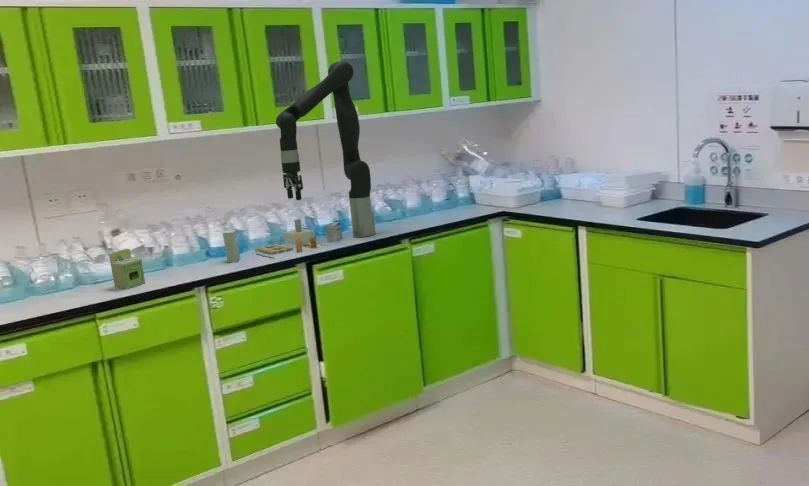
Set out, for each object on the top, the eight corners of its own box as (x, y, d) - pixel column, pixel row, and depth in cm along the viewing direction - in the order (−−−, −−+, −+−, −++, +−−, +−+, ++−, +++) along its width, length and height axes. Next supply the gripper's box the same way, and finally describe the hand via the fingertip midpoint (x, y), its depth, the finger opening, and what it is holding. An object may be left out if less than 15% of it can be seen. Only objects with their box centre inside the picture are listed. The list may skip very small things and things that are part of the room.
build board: (276, 249, 321) (276, 243, 320) (293, 253, 310) (293, 247, 309) (255, 254, 315) (254, 248, 314) (272, 258, 304) (271, 252, 303)
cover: (302, 241, 333) (299, 217, 331) (316, 244, 325) (313, 219, 323) (284, 245, 328) (281, 220, 326) (297, 248, 320) (294, 222, 317)
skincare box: (237, 261, 304) (233, 232, 301) (226, 262, 304) (222, 233, 301) (240, 258, 310) (236, 229, 307) (229, 259, 310) (225, 230, 307)
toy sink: (126, 289, 273) (120, 254, 270) (114, 288, 277) (108, 253, 275) (146, 283, 280) (141, 248, 277) (134, 282, 284) (128, 247, 281)
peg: (301, 254, 308) (298, 232, 306) (304, 254, 306) (301, 233, 304) (295, 255, 306) (293, 233, 304) (298, 256, 304) (296, 234, 303)
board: (313, 245, 322) (311, 233, 321) (328, 249, 313) (326, 235, 312) (292, 250, 316) (291, 237, 315) (307, 253, 307) (306, 240, 306)
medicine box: (337, 245, 319) (335, 225, 317) (327, 245, 320) (325, 225, 318) (342, 241, 327) (340, 221, 325) (332, 241, 327) (330, 222, 326)
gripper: (305, 160, 314) (309, 199, 317) (291, 159, 326) (295, 196, 329) (288, 162, 310) (293, 202, 313) (275, 161, 322) (279, 199, 325)
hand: (294, 199), depth 321 cm, fingers open, 8 cm apart
